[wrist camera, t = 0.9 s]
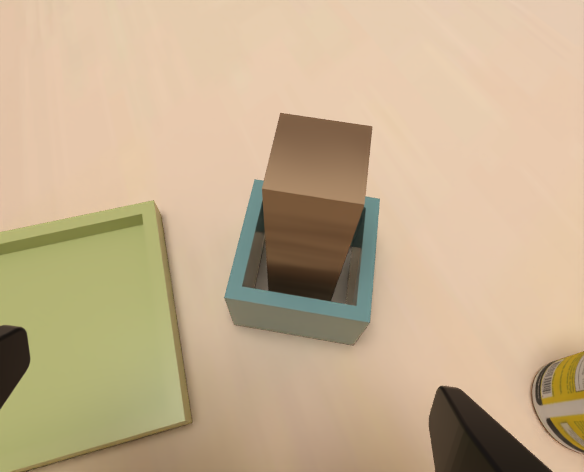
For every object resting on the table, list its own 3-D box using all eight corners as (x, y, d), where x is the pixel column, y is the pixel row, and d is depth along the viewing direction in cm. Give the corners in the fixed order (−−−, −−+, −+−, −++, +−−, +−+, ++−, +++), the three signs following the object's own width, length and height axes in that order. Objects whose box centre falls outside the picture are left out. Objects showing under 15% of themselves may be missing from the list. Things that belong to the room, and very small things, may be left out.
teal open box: (353, 345, 23) (369, 322, 19) (234, 324, 24) (224, 297, 19) (363, 238, 27) (379, 199, 22) (258, 221, 27) (254, 179, 23)
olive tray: (192, 422, 21) (185, 420, 20) (-81, 502, 19) (-114, 507, 18) (161, 214, 27) (153, 200, 25) (-53, 260, 25) (-75, 247, 23)
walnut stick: (327, 311, 24) (364, 204, 14) (269, 301, 24) (261, 188, 14) (333, 258, 26) (372, 126, 15) (279, 249, 26) (280, 112, 15)
